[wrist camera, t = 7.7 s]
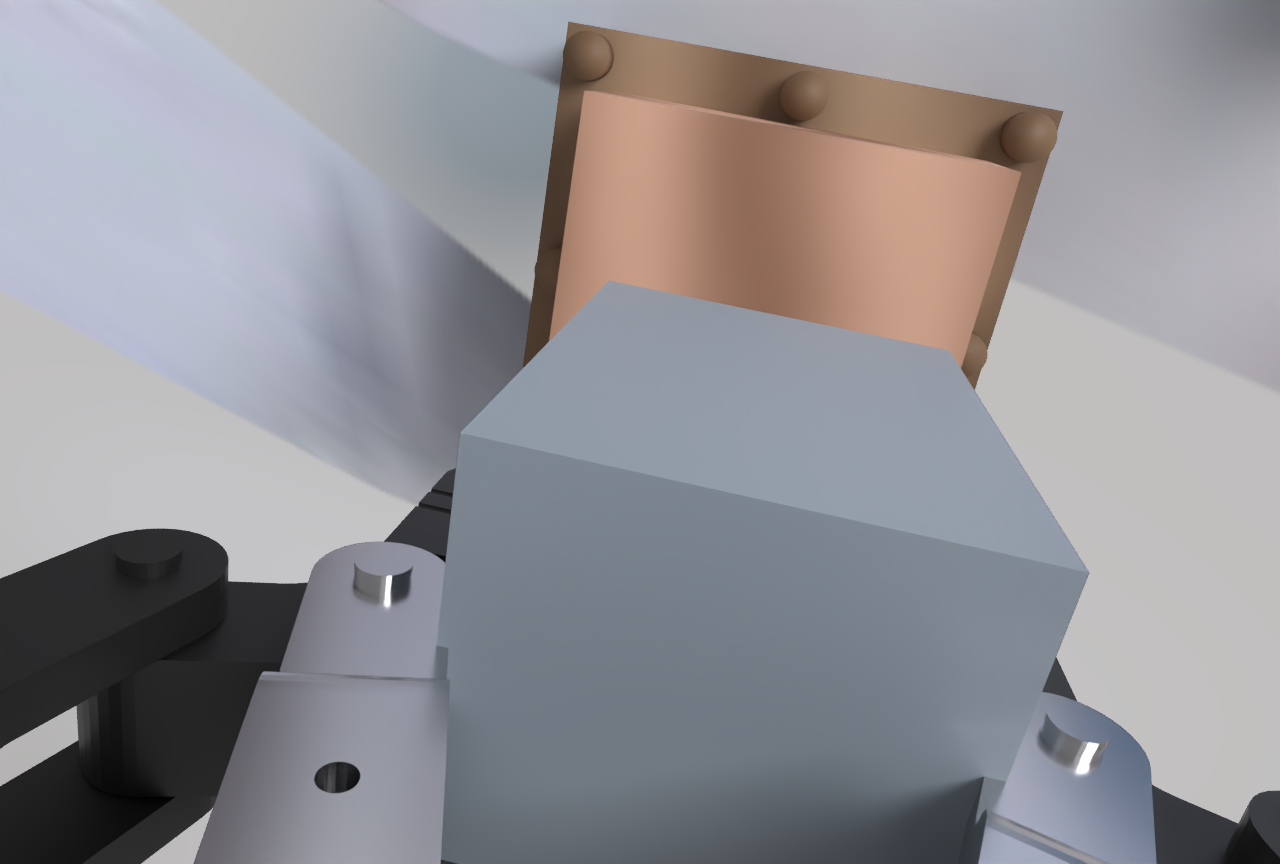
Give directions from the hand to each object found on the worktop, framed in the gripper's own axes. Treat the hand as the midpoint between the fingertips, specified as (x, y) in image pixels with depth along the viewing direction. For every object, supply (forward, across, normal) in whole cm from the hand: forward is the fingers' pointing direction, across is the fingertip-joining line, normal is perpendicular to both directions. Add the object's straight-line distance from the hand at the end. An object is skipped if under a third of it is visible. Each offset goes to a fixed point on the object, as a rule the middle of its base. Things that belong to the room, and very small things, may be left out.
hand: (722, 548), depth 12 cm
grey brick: (+1, 0, 0) cm, 1 cm away
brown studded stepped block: (+20, 0, 0) cm, 20 cm away
